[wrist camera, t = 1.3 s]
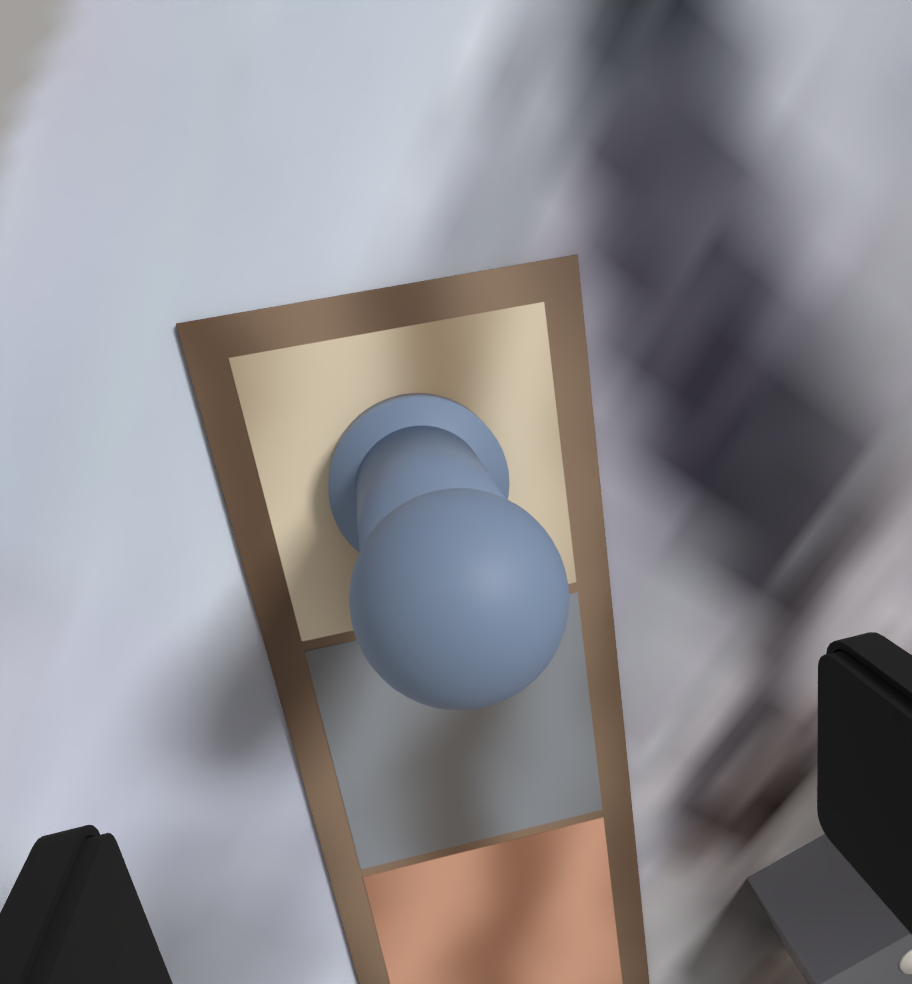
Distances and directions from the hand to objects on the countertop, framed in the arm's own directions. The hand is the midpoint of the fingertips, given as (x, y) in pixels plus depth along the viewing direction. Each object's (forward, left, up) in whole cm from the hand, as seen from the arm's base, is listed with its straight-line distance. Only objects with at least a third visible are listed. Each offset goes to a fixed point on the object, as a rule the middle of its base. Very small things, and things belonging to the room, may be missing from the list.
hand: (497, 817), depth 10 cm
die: (-15, +22, -15) cm, 30 cm away
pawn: (-1, 0, -15) cm, 15 cm away
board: (-1, +10, -15) cm, 18 cm away
